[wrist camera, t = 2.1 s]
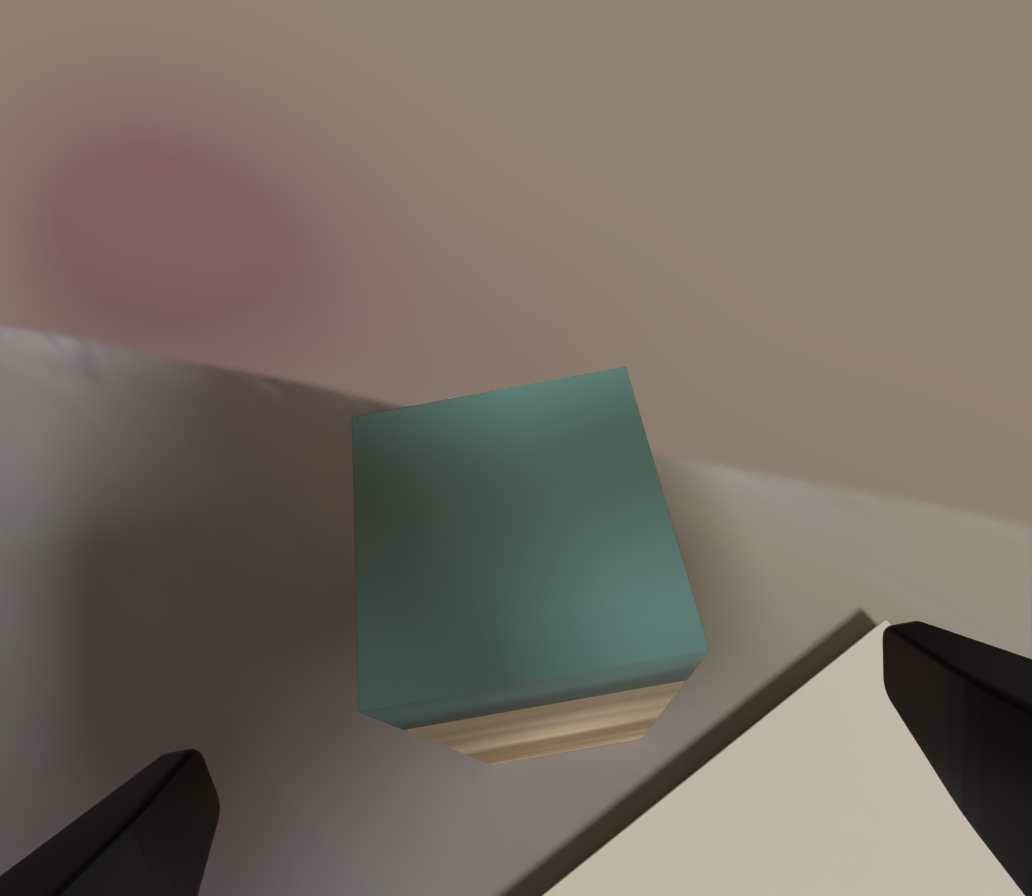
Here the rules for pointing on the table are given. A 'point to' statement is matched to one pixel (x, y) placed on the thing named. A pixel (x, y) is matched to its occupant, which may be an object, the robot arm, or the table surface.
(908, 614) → the table surface
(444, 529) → the birch block
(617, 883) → the cream square tile
